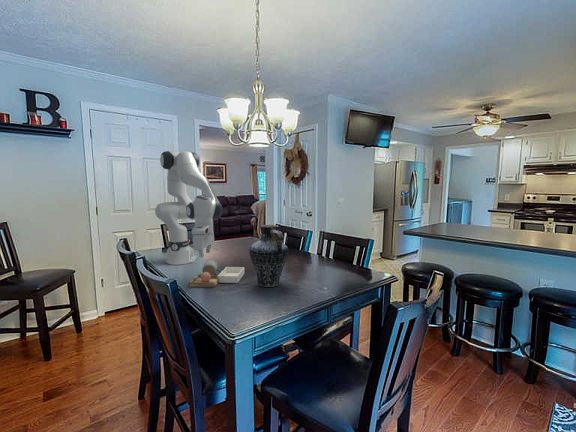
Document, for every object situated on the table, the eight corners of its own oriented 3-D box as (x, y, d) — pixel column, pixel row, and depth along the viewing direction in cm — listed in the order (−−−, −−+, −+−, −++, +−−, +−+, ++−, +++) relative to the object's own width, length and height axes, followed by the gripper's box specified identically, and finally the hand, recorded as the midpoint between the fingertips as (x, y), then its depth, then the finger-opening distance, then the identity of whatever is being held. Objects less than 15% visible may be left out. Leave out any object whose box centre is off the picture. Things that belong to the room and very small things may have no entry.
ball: (203, 279, 155) (202, 270, 155) (212, 280, 155) (212, 270, 154) (199, 283, 150) (199, 273, 150) (209, 283, 150) (208, 274, 149)
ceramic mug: (202, 277, 161) (201, 263, 160) (204, 273, 169) (203, 259, 168) (222, 277, 163) (222, 263, 162) (223, 272, 171) (223, 259, 170)
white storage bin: (226, 272, 169) (226, 267, 169) (244, 273, 169) (244, 267, 168) (217, 282, 153) (217, 275, 153) (237, 283, 152) (237, 276, 152)
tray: (198, 278, 160) (198, 274, 159) (222, 279, 159) (222, 275, 158) (188, 286, 147) (188, 282, 146) (214, 287, 146) (214, 283, 146)
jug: (242, 284, 151) (240, 225, 148) (270, 275, 164) (270, 221, 161) (268, 294, 136) (268, 229, 133) (298, 284, 150) (298, 225, 146)
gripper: (205, 224, 160) (206, 250, 162) (190, 231, 140) (191, 259, 141) (216, 225, 160) (217, 250, 161) (203, 231, 139) (204, 260, 141)
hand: (205, 254), depth 151 cm, fingers open, 8 cm apart
